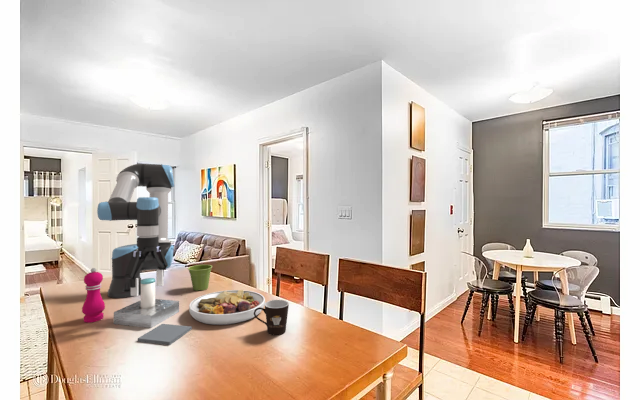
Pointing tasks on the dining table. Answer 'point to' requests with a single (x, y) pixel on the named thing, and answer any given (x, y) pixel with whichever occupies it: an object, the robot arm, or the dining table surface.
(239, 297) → the bowl
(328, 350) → the dining table surface
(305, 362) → the dining table surface
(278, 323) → the coffee mug
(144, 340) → the pad
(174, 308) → the housing
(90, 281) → the pepper mill
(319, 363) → the dining table surface
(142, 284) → the plug
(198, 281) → the plant pot
